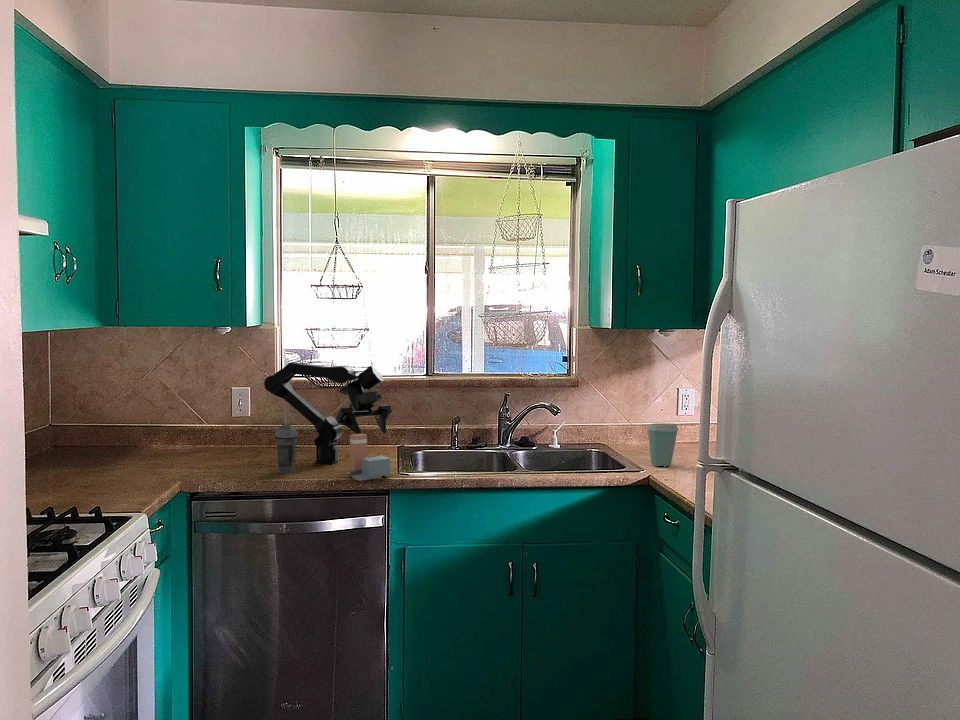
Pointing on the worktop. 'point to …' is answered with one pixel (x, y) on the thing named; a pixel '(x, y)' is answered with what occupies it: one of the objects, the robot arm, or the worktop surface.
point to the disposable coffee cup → (662, 442)
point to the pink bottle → (357, 450)
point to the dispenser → (372, 468)
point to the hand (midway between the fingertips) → (372, 434)
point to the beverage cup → (286, 447)
